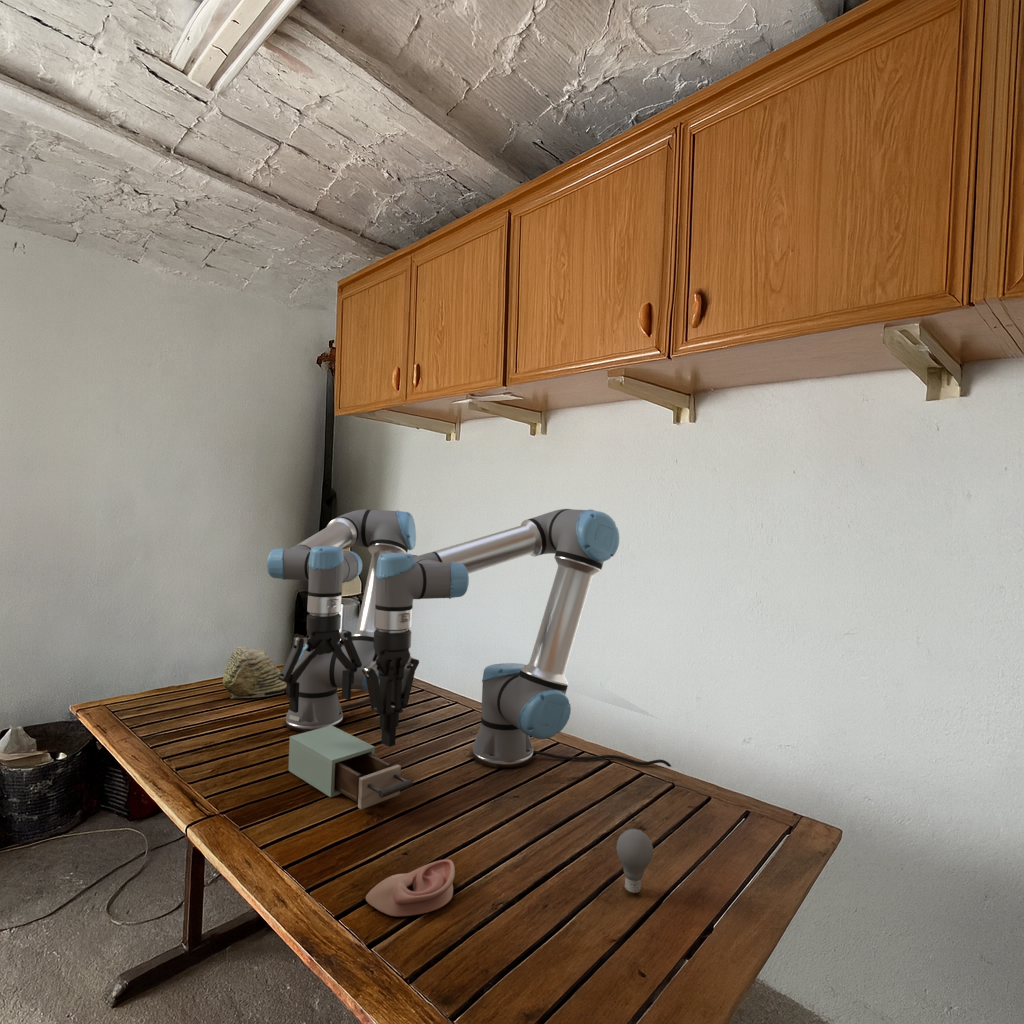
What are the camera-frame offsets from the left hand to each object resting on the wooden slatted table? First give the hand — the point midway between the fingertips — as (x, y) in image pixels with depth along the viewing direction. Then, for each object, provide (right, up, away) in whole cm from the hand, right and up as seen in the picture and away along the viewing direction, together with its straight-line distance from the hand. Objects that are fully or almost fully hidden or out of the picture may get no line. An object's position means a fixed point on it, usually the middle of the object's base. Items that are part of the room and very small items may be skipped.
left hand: (320, 704), depth 147 cm
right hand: (+19, -3, -17) cm, 26 cm away
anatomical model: (+28, -17, -45) cm, 56 cm away
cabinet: (+3, -15, -3) cm, 16 cm away
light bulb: (+64, -19, -41) cm, 79 cm away
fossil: (-36, -13, +51) cm, 64 cm away
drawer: (+13, -15, -12) cm, 23 cm away
